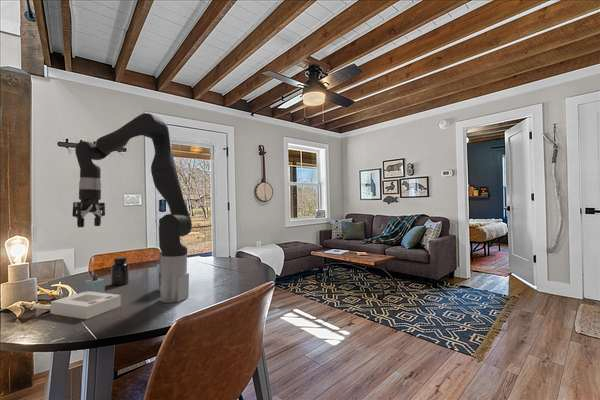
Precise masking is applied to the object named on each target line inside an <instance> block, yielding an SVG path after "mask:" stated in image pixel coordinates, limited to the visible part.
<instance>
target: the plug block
mask: <svg viewBox="0 0 600 400" xmlns="http://www.w3.org/2000/svg"><path fill="white" fill-rule="evenodd" d="M98 277H99V276H98V274H93V275H92V278H91V279H89V280H88V279H87V280H85V281H84V292H86V291H91V292H99V293H106V292H105V291H106V287H105V286H106V279H105V278H98Z"/></svg>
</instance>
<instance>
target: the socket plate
mask: <svg viewBox="0 0 600 400" xmlns="http://www.w3.org/2000/svg"><path fill="white" fill-rule="evenodd" d="M121 301H122V294H117V293H115V294H113V293H106V292H105V293H99V292H91V291H86V292H85V291H82V292H79V293H76V294H72V295H68V296H65V297H62V298H59V299H55V300H52V301H50V314H52V315H57V316H64V317H68V318H76V319H82V320H89V319H91V318H94V317H97V316H99V315H102V314H104V313H106V312H110V311H112V310H114V309H117V308H120V307H121V305H122V302H121Z"/></svg>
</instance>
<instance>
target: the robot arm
mask: <svg viewBox="0 0 600 400" xmlns="http://www.w3.org/2000/svg"><path fill="white" fill-rule="evenodd" d="M139 136H144V137H146V138H149V139H151V141H152V143H153V146H154V147H153V148H154V155H153V159H152V162H151V166H150V173H151V177H152V180H153V184H154V187H155V188H156V190H157V191H158V193H159V194H160V195H161V197H162V198H163V199H164V201H165V202H166V203H167V205H168V208H169V212H170V213H167V214H165V215H163V216H162V217H161V218H160V219H159V220H160V221H159V223H158V242H159V243H158V247H159V249H160V253H161V291H159V292H160V299H159V301H160V302H161V303H167V304H170V303H180V302H182V301H184V300H186V299H188V298H189V294H190V293H189V291H190V290H189V289H190V288H189V287H190V274H189V273H188V247H187V246H186V245H183V244H182V243H181V237H185V236H188V235H189V234H190V233H191V232H192V231H191V230H192V228H193V226H192V225H193V223H192V218H191V215H190V212H189V210H188V208H187V205H186V202H185V199H184V196H183V195H184V194H183V192H182V188H181V185H180V179H179V175H178V171H177V167H176V164H175V159H174V155H173V151H172V146H171V145H172V144H171V138H170V137H171V136H170V130H169V127H168V124H167V122H166V120H164V119H163V118H161V117H158V116H156V115H154V114H151V113H148V112H145V113H144V112H143V113H140V114H139V115H137V116H136V117H134V118H133V119H132V120H130V121H129V122H127V123H126V124H124V125H123V126H121V127H120V128H118V129H117V130H114V131H112V132H110V133H108V134H105V135H103V136H101V137H99V138H97V139H96V142H95V143H94V142H89V141H85V140H82V141H79V142H78V143H77V144H76V145H75V149H74V150H75V153H74V154H75V156H76V159H77V162H78V166H79V182H78V200H80V201H73V202H72V216H71V217H74V218H76V220H77V221H76V225H77V228H85V217H86V215H87V214H89V213H91V214H92V215H93V216H94V219H93V220H94V221H93V223H94V225H93V226H94V227H100V226H101V221H102V220H101V218H102V217H105V216H106V203H105V202H99V201H100V200H101V199H102V198H101V197H102V184H101V183H102V181H101V167H100V166H99V165H97V164H95V163H94V162H93V160H94V161H99V160H104V159H105V158H106V157H108V156H109V155H110V154H111V153H113V152H116V151H118V150H120V149H123V148H124V147H125V146H127V144H128V143H129V141H130V140H131V139H132V138H136V137H139Z"/></svg>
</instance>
